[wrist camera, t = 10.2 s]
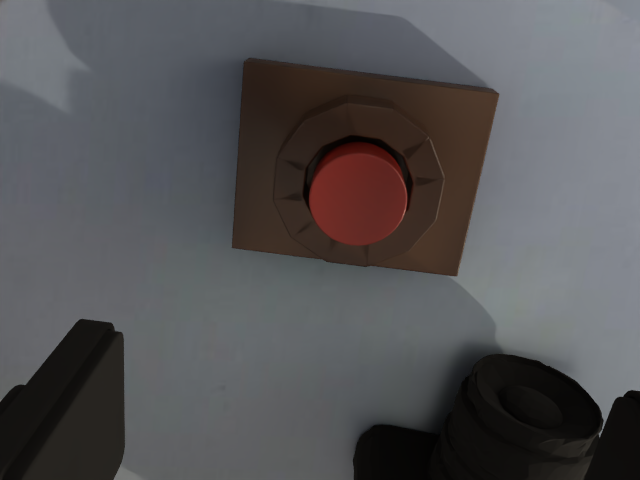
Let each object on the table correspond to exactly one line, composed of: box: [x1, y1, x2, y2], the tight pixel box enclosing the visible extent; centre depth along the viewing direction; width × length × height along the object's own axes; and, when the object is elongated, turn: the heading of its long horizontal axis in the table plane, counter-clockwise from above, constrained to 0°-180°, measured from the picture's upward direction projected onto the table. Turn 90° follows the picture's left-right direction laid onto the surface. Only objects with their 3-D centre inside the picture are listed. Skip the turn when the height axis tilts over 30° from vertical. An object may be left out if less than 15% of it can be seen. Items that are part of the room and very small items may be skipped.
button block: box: [232, 58, 499, 276], centre depth 25 cm, size 10×8×3 cm
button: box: [309, 142, 407, 246], centre depth 23 cm, size 4×4×2 cm
